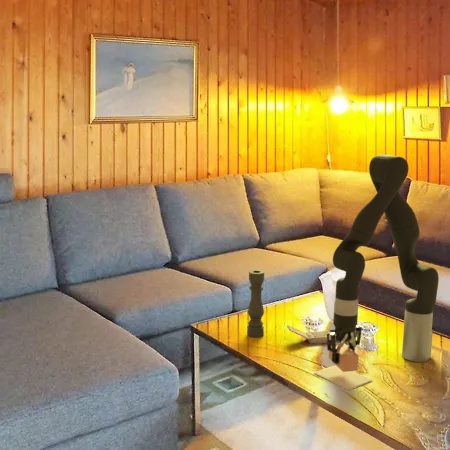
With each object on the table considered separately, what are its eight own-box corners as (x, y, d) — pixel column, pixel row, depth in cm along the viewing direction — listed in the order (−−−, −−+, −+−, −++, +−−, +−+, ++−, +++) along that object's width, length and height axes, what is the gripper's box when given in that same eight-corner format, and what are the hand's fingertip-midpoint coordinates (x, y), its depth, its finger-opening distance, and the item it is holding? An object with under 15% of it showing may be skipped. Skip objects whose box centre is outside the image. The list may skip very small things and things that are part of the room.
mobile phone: (286, 325, 234) (349, 321, 238) (285, 339, 235) (349, 335, 240) (290, 331, 228) (355, 326, 233) (290, 346, 229) (355, 341, 234)
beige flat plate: (337, 365, 212) (337, 364, 212) (371, 381, 201) (372, 379, 201) (313, 373, 206) (313, 372, 206) (348, 390, 194) (348, 389, 194)
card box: (357, 370, 198) (358, 355, 197) (342, 371, 196) (343, 356, 195) (342, 356, 208) (343, 342, 207) (328, 358, 207) (329, 343, 206)
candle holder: (245, 333, 241) (246, 270, 236) (260, 331, 243) (261, 269, 238) (250, 339, 235) (251, 274, 230) (265, 337, 237) (267, 273, 232)
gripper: (339, 318, 192) (336, 370, 195) (370, 310, 200) (366, 359, 203) (321, 312, 197) (318, 362, 201) (352, 304, 206) (349, 351, 209)
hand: (343, 360), depth 202 cm, fingers closed on card box, 6 cm apart
